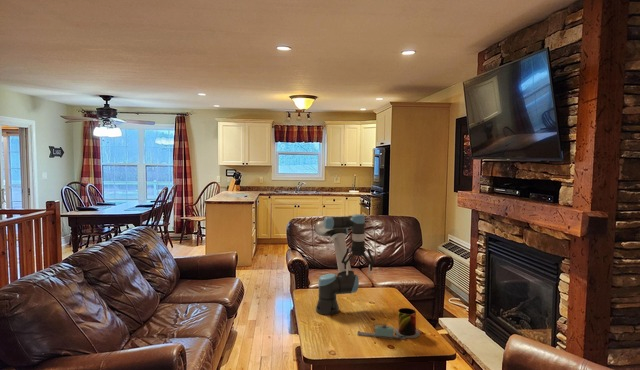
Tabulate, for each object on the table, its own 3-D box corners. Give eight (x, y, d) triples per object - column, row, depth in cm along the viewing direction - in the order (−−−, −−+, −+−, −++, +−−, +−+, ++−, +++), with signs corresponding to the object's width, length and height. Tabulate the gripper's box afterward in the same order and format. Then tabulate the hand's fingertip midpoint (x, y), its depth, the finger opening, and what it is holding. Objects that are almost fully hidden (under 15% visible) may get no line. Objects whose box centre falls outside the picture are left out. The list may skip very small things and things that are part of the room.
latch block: (375, 332, 211) (375, 323, 211) (393, 333, 209) (393, 324, 209) (374, 335, 207) (374, 326, 207) (393, 337, 205) (393, 327, 205)
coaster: (394, 326, 222) (394, 325, 222) (419, 329, 219) (419, 327, 219) (394, 337, 208) (394, 335, 208) (420, 339, 205) (420, 338, 205)
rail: (358, 333, 213) (358, 330, 213) (405, 338, 207) (405, 335, 207) (357, 335, 210) (357, 332, 210) (405, 339, 205) (405, 337, 205)
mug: (409, 325, 222) (409, 305, 222) (418, 335, 208) (418, 313, 208) (393, 326, 221) (393, 305, 220) (401, 336, 207) (402, 314, 207)
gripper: (336, 240, 226) (336, 275, 227) (378, 242, 220) (378, 278, 221) (339, 238, 233) (339, 272, 234) (379, 240, 227) (379, 274, 228)
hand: (358, 275), depth 227 cm, fingers open, 13 cm apart
